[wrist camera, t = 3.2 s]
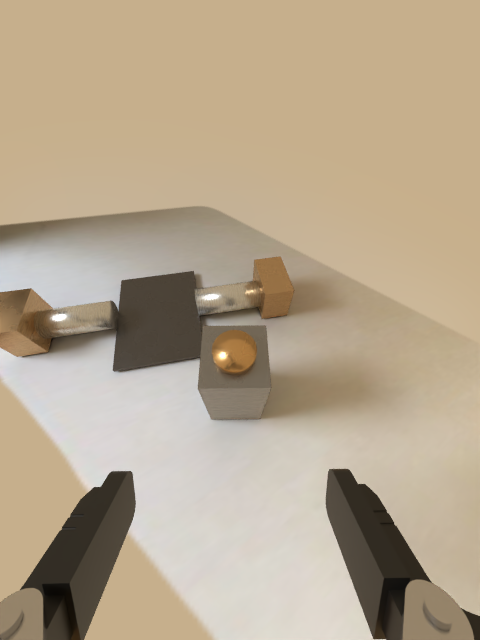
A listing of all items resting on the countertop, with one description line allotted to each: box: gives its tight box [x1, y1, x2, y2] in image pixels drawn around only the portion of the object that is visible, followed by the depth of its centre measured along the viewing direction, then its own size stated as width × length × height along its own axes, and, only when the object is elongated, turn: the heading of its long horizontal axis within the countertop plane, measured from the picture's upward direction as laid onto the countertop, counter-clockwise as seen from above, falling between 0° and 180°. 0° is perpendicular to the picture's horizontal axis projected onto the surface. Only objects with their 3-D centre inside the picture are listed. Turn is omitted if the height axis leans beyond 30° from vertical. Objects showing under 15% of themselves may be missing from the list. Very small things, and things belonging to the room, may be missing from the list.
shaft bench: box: [0, 257, 294, 372], centre depth 26 cm, size 29×12×4 cm, turn 101°
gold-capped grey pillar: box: [198, 326, 271, 420], centre depth 19 cm, size 4×4×10 cm
